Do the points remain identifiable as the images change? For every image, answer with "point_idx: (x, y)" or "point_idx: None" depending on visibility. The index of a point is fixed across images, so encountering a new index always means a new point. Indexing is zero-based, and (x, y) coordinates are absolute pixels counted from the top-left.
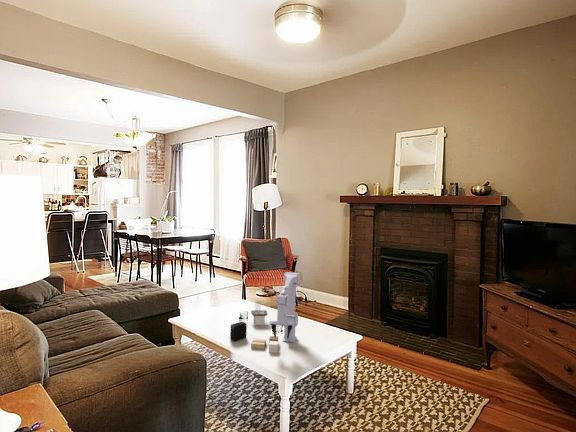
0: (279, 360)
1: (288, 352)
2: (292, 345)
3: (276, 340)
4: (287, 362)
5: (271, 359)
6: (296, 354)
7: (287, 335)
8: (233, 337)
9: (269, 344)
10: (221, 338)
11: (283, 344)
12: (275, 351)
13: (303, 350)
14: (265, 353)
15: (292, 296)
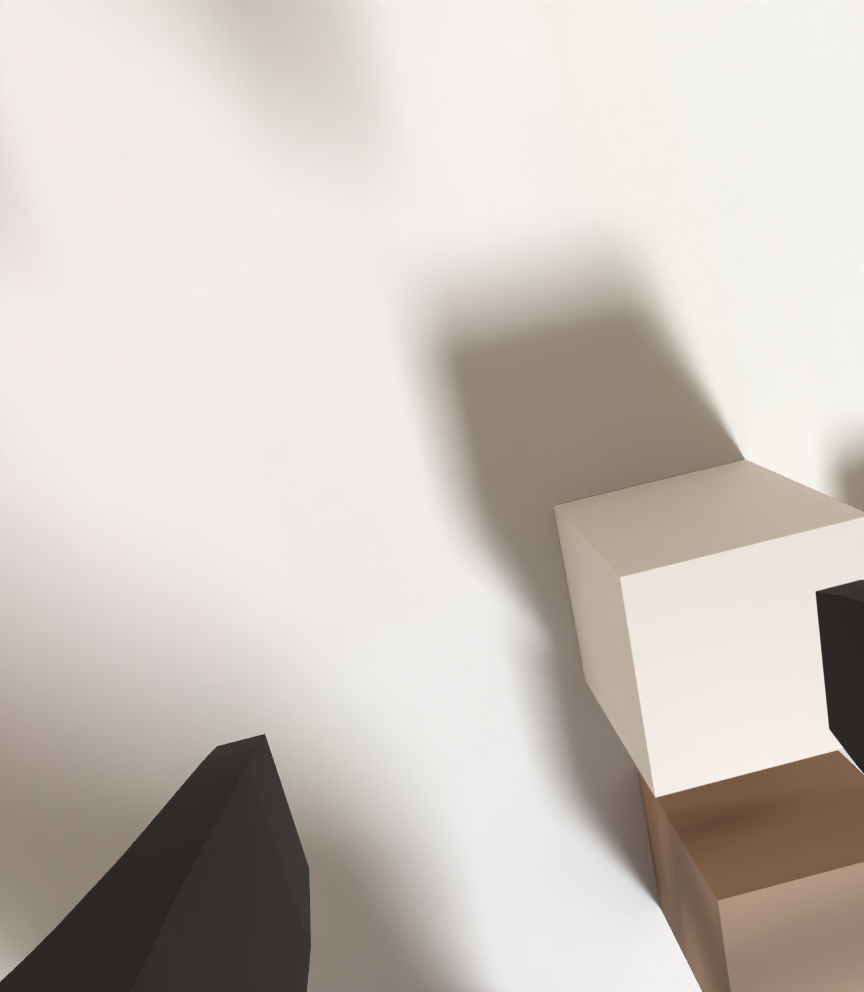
0: (354, 102)
1: (306, 630)
2: (350, 972)
3: (725, 872)
4: (106, 61)
5: (570, 81)
6: (84, 608)
7: (216, 816)
8: None
9: (852, 514)
10: None
11: (546, 936)
12: (600, 505)
13: (22, 860)
14: (801, 363)
15: None
